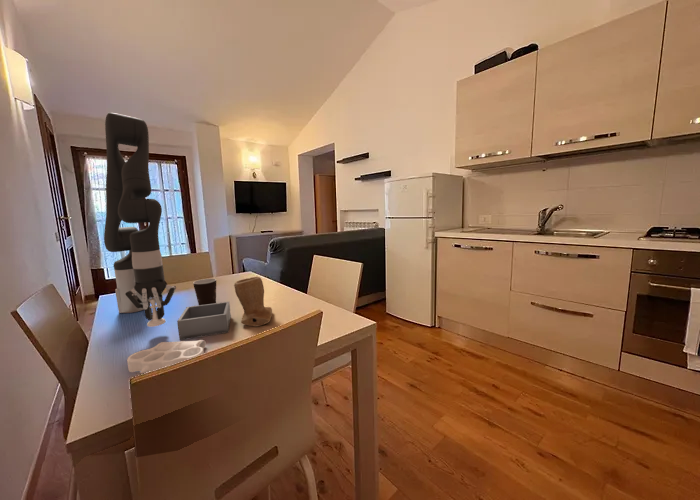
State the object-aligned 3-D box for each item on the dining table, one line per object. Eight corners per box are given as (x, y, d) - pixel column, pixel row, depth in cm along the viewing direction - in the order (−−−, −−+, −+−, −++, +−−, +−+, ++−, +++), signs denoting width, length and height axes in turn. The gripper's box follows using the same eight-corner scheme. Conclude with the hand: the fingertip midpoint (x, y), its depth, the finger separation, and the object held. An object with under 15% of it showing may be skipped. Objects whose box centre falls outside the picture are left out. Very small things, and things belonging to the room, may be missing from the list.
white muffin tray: (217, 347, 84) (192, 376, 69) (153, 350, 83) (114, 381, 69) (216, 336, 83) (190, 363, 69) (151, 339, 83) (112, 368, 68)
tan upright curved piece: (241, 313, 109) (237, 274, 106) (274, 310, 111) (271, 272, 108) (232, 330, 94) (227, 285, 92) (270, 326, 96) (266, 282, 94)
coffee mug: (212, 308, 116) (210, 283, 115) (191, 308, 117) (188, 284, 115) (225, 298, 128) (223, 276, 126) (206, 299, 128) (203, 277, 127)
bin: (179, 340, 88) (177, 321, 87) (188, 323, 101) (186, 306, 100) (227, 332, 92) (226, 314, 92) (230, 317, 105) (229, 301, 104)
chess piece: (169, 321, 93) (164, 291, 92) (153, 327, 89) (148, 296, 87) (159, 319, 95) (154, 290, 94) (143, 325, 91) (138, 294, 89)
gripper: (176, 261, 95) (182, 311, 97) (126, 264, 90) (134, 317, 93) (170, 265, 88) (177, 320, 90) (115, 269, 83) (124, 327, 86)
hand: (155, 318), depth 92 cm, fingers closed on chess piece
